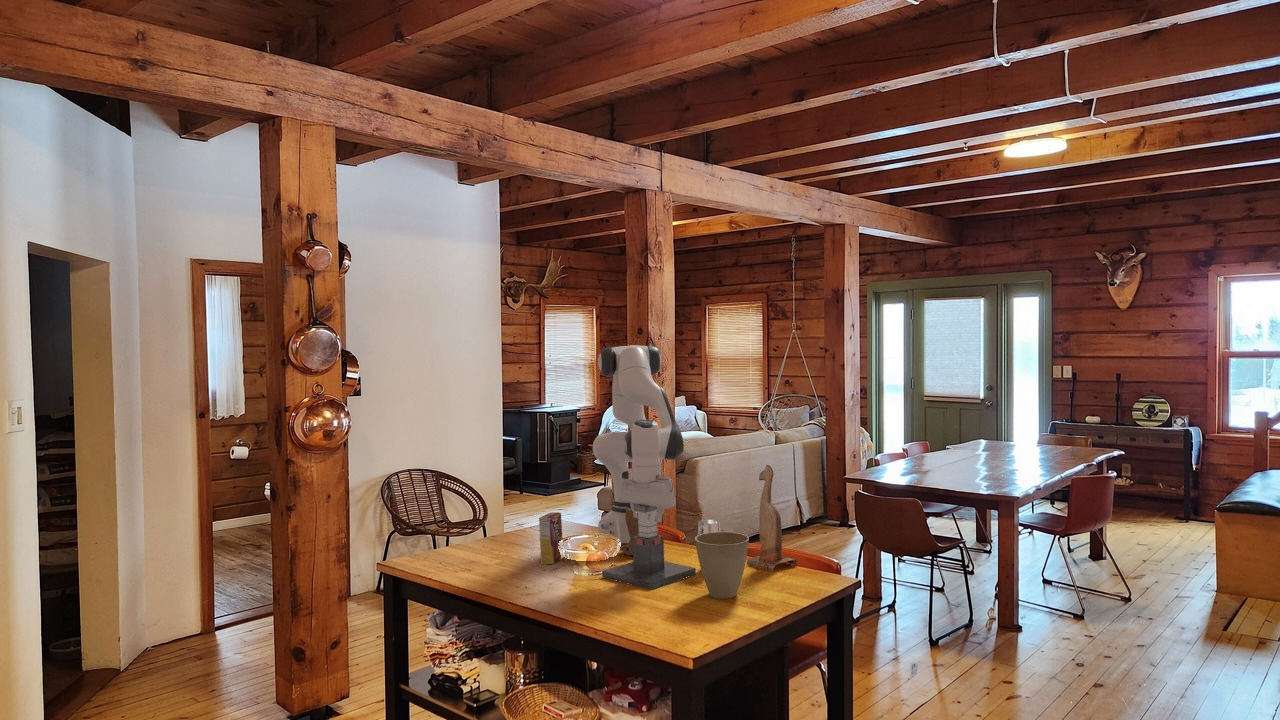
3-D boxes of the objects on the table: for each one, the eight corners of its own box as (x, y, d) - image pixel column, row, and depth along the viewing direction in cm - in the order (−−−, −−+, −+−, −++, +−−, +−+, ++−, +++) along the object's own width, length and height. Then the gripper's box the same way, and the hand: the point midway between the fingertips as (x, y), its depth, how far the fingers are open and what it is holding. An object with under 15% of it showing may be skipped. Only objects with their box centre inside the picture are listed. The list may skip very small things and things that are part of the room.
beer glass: (713, 574, 249) (712, 524, 249) (694, 570, 253) (693, 522, 253) (725, 568, 254) (724, 520, 254) (706, 565, 259) (705, 518, 258)
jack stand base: (602, 577, 248) (601, 537, 248) (647, 563, 262) (646, 526, 262) (650, 589, 234) (649, 547, 234) (695, 574, 249) (694, 535, 248)
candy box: (552, 557, 274) (550, 511, 274) (563, 558, 272) (562, 512, 272) (539, 564, 265) (538, 517, 265) (551, 565, 264) (550, 517, 264)
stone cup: (643, 544, 288) (642, 502, 288) (667, 550, 280) (666, 506, 279) (611, 553, 278) (610, 508, 277) (635, 559, 269) (634, 513, 269)
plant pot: (687, 591, 232) (686, 535, 232) (734, 584, 237) (733, 529, 237) (710, 606, 218) (709, 546, 218) (759, 599, 223) (758, 540, 223)
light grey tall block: (635, 569, 247) (634, 505, 247) (651, 564, 252) (649, 502, 252) (646, 572, 244) (644, 507, 244) (662, 567, 249) (660, 503, 249)
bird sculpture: (769, 559, 265) (764, 461, 265) (798, 565, 256) (793, 463, 256) (746, 566, 258) (740, 465, 258) (774, 572, 249) (769, 467, 249)
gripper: (679, 475, 243) (680, 522, 243) (630, 469, 257) (631, 513, 257) (665, 478, 238) (666, 526, 239) (615, 472, 253) (616, 517, 253)
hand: (647, 519), depth 248 cm, fingers open, 7 cm apart
